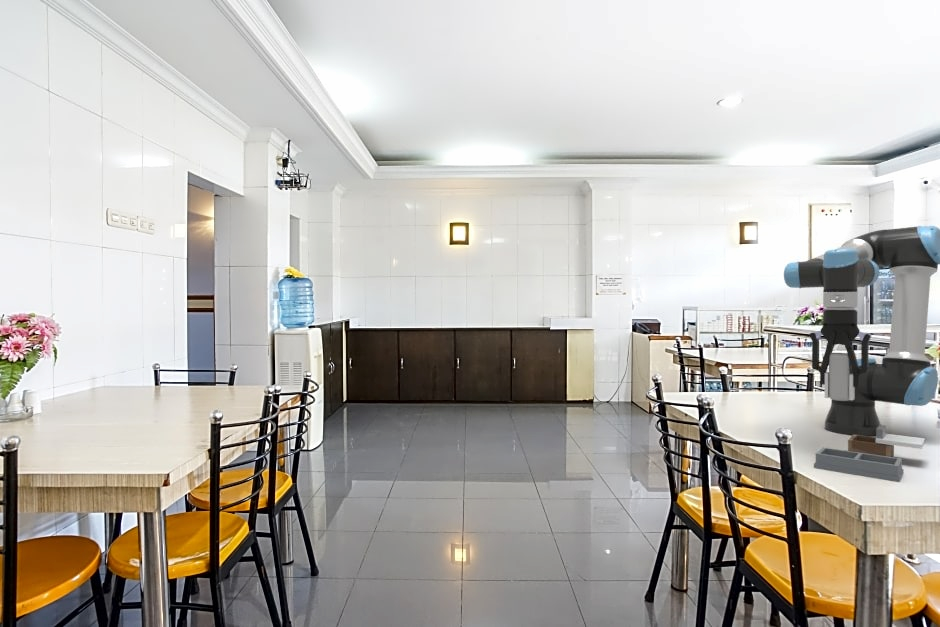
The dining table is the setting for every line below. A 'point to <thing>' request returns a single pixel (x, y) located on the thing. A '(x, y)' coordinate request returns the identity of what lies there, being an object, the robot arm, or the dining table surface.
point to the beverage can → (839, 376)
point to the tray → (869, 446)
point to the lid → (897, 439)
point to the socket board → (860, 464)
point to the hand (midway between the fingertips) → (839, 398)
